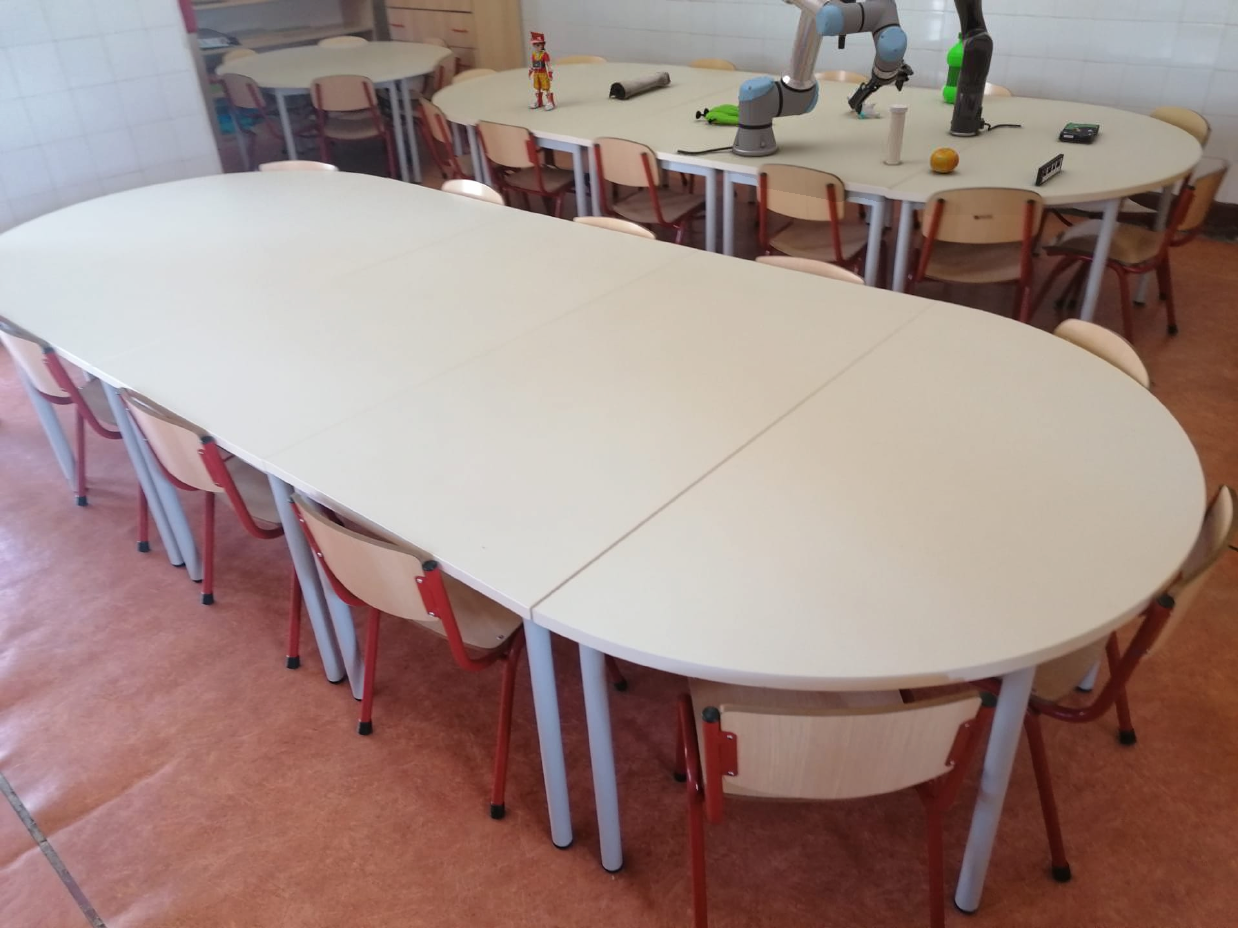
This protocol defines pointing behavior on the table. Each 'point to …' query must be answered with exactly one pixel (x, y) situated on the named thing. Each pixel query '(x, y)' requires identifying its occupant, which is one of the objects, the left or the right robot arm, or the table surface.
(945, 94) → the plastic bottle
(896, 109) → the lid
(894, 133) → the beige plastic cylinder
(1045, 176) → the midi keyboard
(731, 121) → the toy
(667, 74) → the rolled mat
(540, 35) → the toy
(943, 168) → the fruit
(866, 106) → the anatomical model
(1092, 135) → the disk drive
